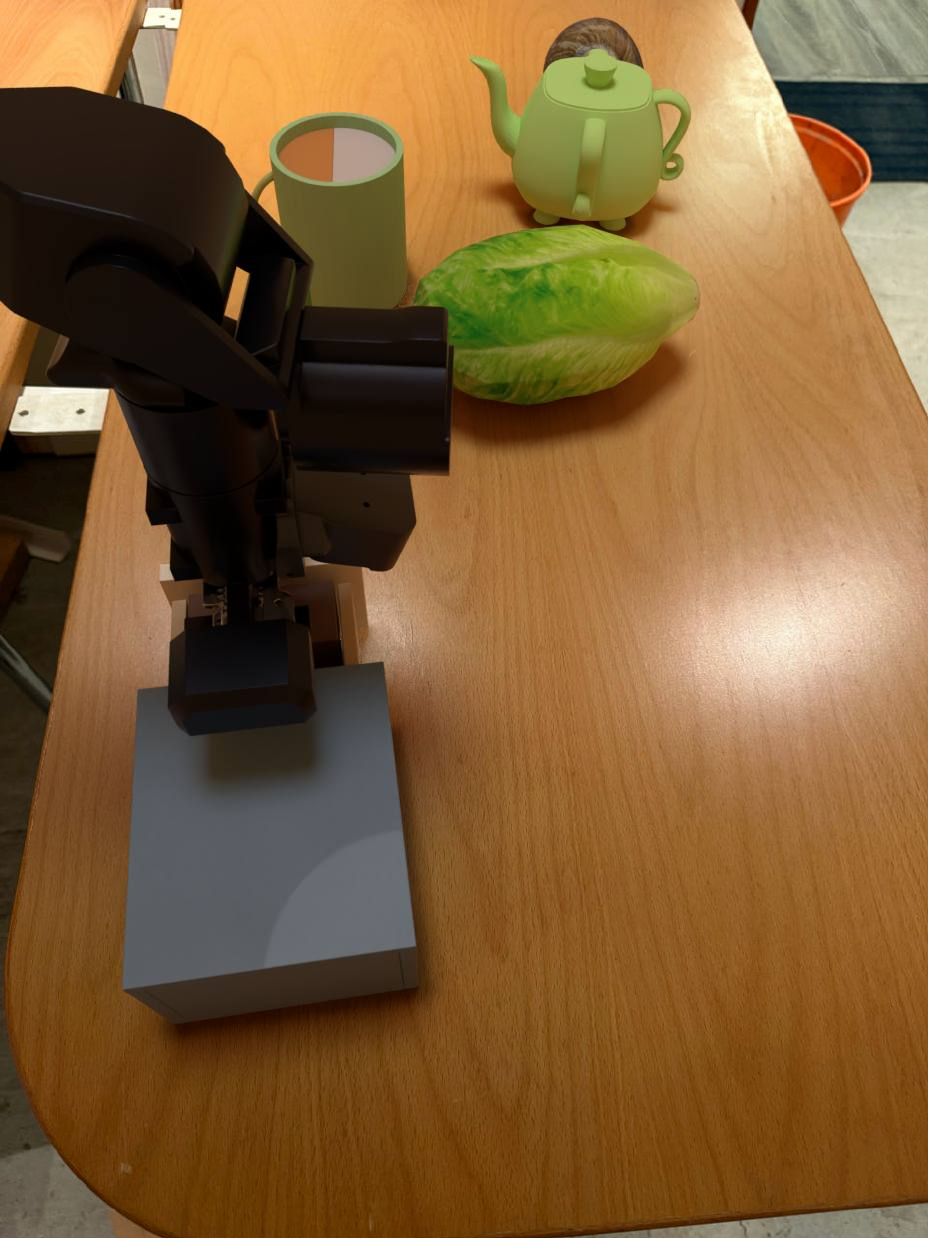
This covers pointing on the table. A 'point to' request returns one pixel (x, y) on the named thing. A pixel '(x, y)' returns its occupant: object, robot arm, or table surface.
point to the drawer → (343, 577)
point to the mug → (343, 206)
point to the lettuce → (556, 311)
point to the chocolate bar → (321, 618)
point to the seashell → (594, 42)
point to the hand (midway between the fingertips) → (267, 638)
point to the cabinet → (268, 858)
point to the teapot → (587, 138)
